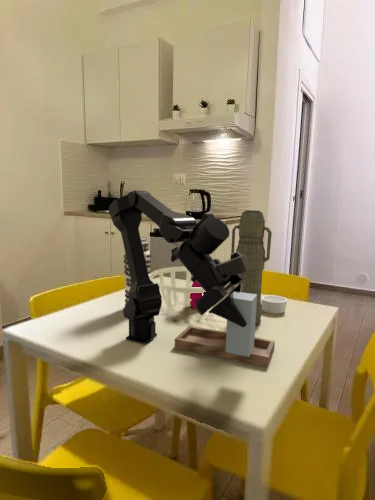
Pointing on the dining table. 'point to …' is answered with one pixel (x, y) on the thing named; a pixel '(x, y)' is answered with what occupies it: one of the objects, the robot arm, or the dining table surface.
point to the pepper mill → (195, 295)
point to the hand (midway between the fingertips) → (248, 321)
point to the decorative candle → (128, 279)
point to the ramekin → (273, 304)
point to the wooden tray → (222, 345)
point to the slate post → (242, 337)
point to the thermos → (252, 253)
